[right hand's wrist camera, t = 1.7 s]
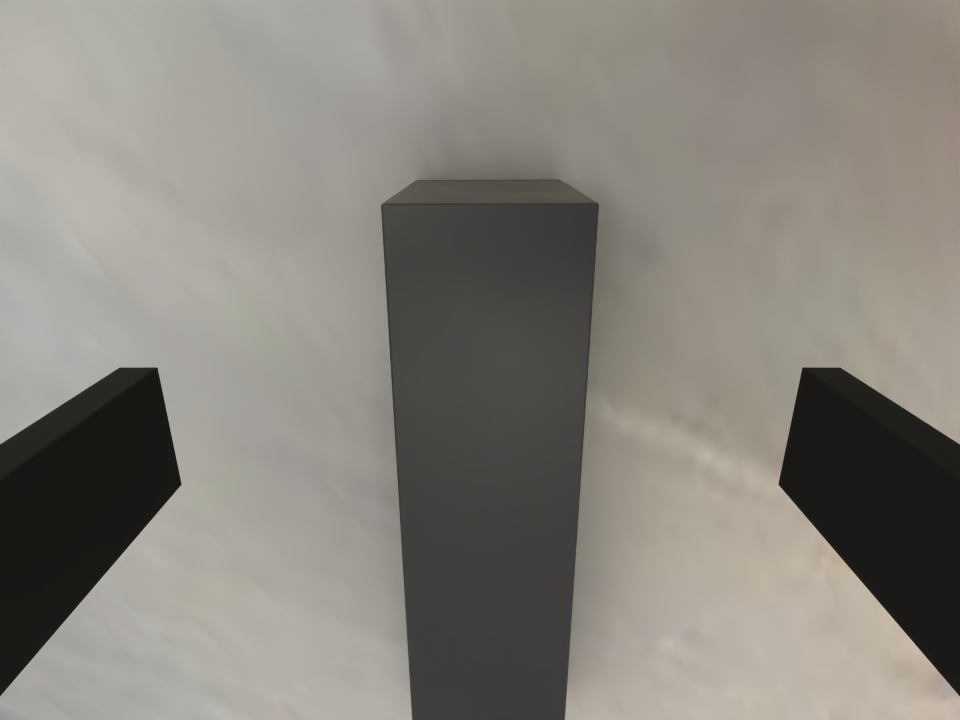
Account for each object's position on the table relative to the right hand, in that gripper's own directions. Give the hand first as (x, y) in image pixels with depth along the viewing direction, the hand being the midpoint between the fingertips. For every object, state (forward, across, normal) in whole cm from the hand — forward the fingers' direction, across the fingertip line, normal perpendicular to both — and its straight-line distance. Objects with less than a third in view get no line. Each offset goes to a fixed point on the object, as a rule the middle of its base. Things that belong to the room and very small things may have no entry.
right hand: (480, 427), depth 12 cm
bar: (+12, 0, -9) cm, 16 cm away
